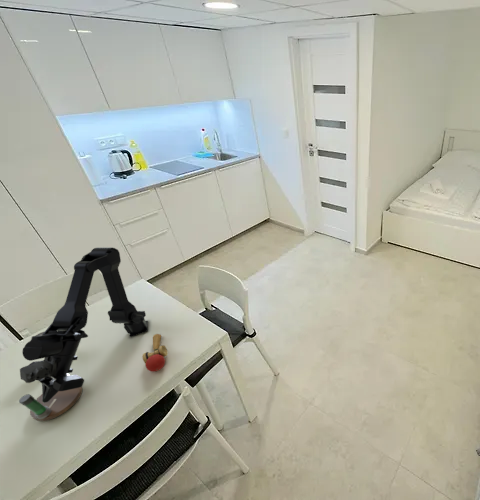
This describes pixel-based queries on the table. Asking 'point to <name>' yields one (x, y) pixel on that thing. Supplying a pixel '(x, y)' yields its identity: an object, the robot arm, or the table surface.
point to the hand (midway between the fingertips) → (45, 401)
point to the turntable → (51, 404)
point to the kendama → (155, 355)
